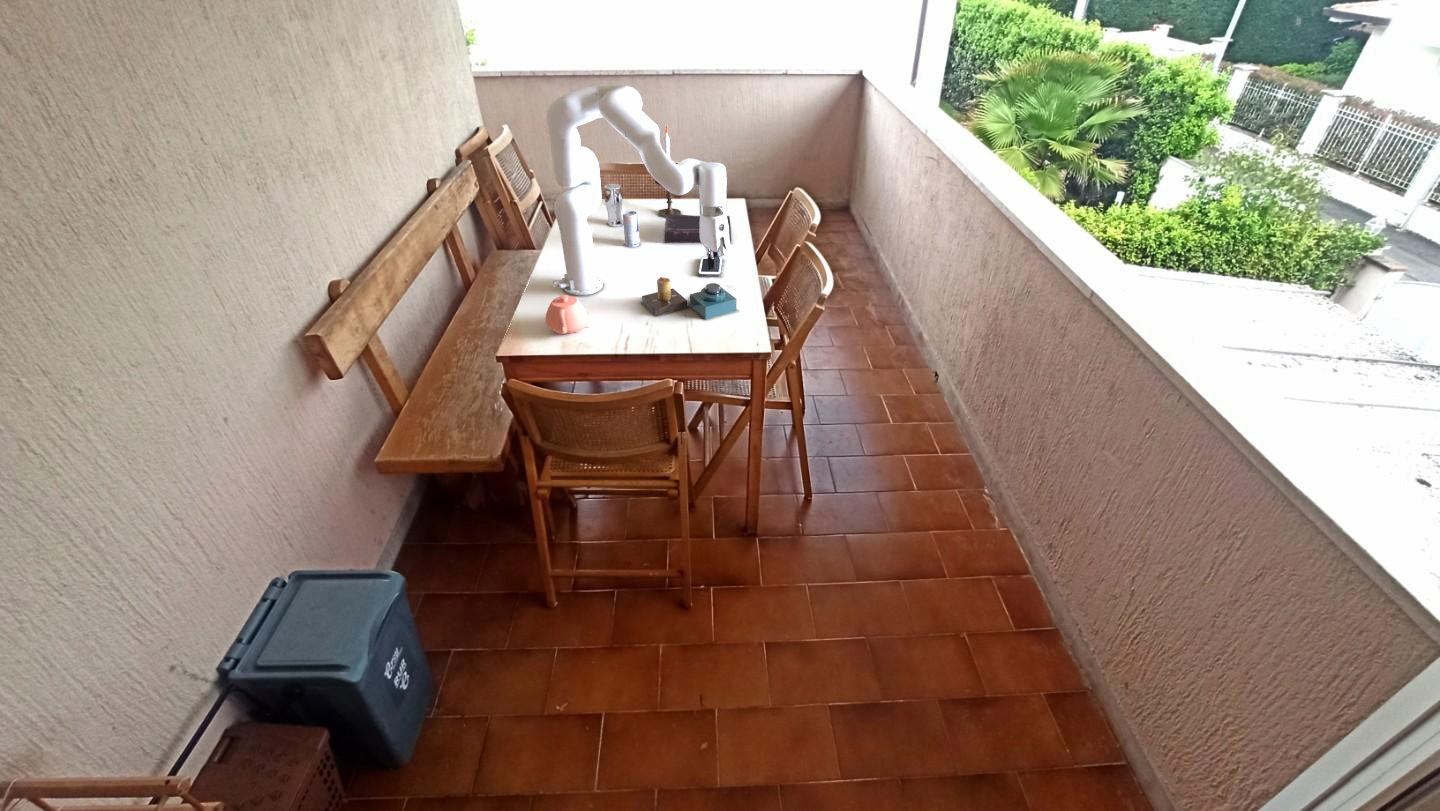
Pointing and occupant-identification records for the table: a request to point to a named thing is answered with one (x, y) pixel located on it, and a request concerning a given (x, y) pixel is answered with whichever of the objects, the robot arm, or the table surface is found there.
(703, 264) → the cell phone
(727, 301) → the teal push button box
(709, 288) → the dark grey push button
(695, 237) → the diary
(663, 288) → the knob
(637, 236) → the energy drink
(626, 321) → the table surface
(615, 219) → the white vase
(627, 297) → the table surface
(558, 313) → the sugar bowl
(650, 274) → the table surface
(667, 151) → the candlestick
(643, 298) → the knob panel
